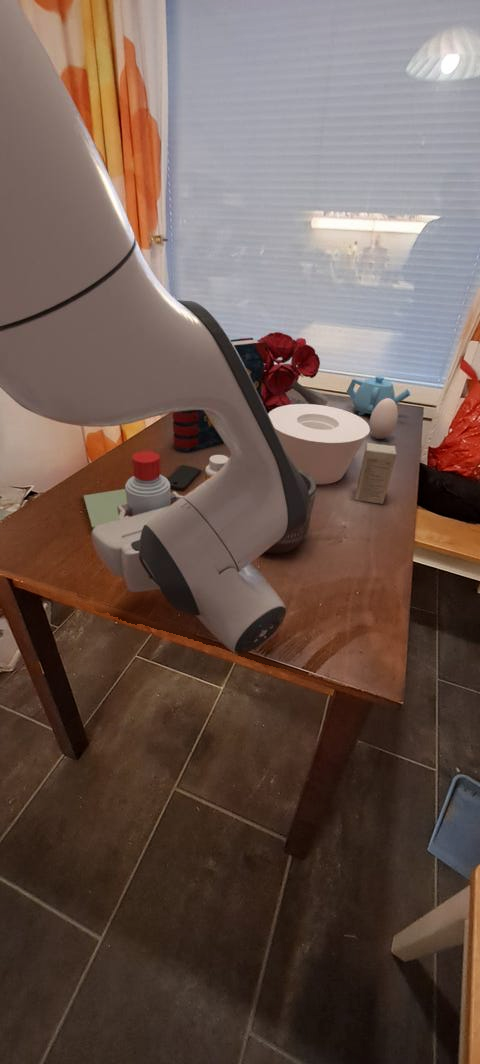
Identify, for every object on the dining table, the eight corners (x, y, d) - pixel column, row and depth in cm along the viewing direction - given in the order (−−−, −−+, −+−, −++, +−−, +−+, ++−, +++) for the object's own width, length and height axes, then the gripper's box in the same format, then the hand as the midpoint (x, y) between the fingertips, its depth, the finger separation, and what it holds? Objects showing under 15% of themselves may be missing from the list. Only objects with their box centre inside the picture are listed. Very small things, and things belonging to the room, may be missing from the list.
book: (181, 454, 107) (179, 351, 92) (168, 444, 111) (164, 344, 97) (259, 435, 120) (267, 342, 105) (244, 427, 124) (250, 336, 109)
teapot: (339, 415, 137) (346, 378, 130) (347, 400, 150) (354, 366, 143) (402, 427, 132) (413, 389, 125) (404, 410, 145) (415, 375, 138)
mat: (92, 531, 79) (92, 527, 78) (84, 499, 87) (83, 495, 87) (175, 515, 84) (175, 511, 84) (159, 487, 93) (159, 483, 92)
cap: (137, 482, 58) (135, 463, 56) (131, 470, 61) (129, 452, 59) (163, 478, 59) (162, 460, 58) (156, 467, 62) (155, 449, 60)
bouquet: (297, 416, 153) (228, 371, 142) (341, 361, 140) (269, 306, 130) (305, 445, 136) (227, 396, 126) (355, 385, 124) (273, 324, 113)
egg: (382, 445, 119) (394, 404, 112) (360, 436, 123) (370, 397, 117) (396, 439, 123) (408, 400, 117) (374, 431, 128) (384, 392, 121)
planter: (266, 515, 86) (273, 458, 79) (317, 539, 81) (329, 481, 73) (228, 540, 79) (231, 480, 71) (281, 570, 73) (290, 508, 65)
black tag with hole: (201, 468, 99) (183, 488, 92) (201, 471, 100) (183, 490, 92) (181, 464, 101) (162, 483, 93) (181, 467, 101) (162, 486, 93)
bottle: (137, 566, 64) (127, 473, 55) (128, 542, 69) (118, 453, 60) (177, 557, 67) (174, 466, 57) (166, 535, 71) (162, 447, 62)
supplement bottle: (201, 497, 90) (201, 454, 84) (225, 493, 92) (227, 451, 86) (209, 511, 86) (210, 466, 80) (234, 507, 88) (237, 463, 82)
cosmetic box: (382, 495, 96) (397, 445, 89) (383, 505, 93) (398, 454, 85) (354, 490, 97) (366, 441, 90) (353, 499, 94) (366, 449, 86)
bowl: (378, 475, 104) (391, 429, 97) (309, 502, 92) (319, 451, 85) (309, 440, 119) (316, 398, 112) (243, 459, 107) (246, 413, 100)
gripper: (257, 510, 58) (206, 469, 67) (112, 557, 48) (75, 501, 57) (253, 547, 61) (205, 503, 70) (118, 597, 51) (82, 538, 60)
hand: (146, 502), depth 63 cm, fingers closed on bottle, 6 cm apart
